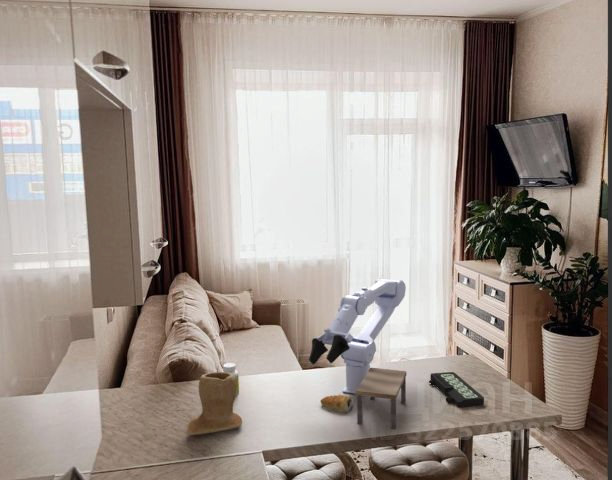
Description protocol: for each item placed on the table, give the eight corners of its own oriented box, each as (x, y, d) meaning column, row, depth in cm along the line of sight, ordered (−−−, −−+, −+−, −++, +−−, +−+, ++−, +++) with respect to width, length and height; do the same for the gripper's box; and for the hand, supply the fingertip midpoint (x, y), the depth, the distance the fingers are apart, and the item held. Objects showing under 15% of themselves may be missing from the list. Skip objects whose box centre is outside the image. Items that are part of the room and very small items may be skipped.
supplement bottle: (237, 397, 164) (236, 368, 163) (220, 397, 164) (219, 368, 163) (240, 390, 169) (239, 361, 168) (223, 390, 169) (222, 362, 168)
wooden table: (370, 397, 161) (370, 367, 160) (406, 401, 157) (406, 371, 156) (356, 423, 144) (356, 390, 143) (396, 429, 141) (395, 395, 139)
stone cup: (237, 413, 153) (235, 364, 151) (245, 432, 142) (243, 379, 140) (184, 422, 148) (182, 371, 146) (188, 442, 137) (185, 387, 135)
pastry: (317, 409, 155) (317, 397, 154) (325, 400, 161) (325, 388, 160) (347, 414, 151) (347, 402, 150) (354, 405, 157) (354, 393, 157)
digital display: (425, 372, 173) (453, 370, 174) (425, 381, 173) (453, 379, 175) (453, 399, 152) (485, 396, 154) (452, 409, 153) (484, 407, 154)
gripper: (317, 319, 161) (295, 353, 153) (350, 314, 151) (329, 350, 143) (330, 335, 164) (310, 369, 155) (363, 331, 153) (343, 367, 145)
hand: (320, 361), depth 149 cm, fingers open, 7 cm apart
